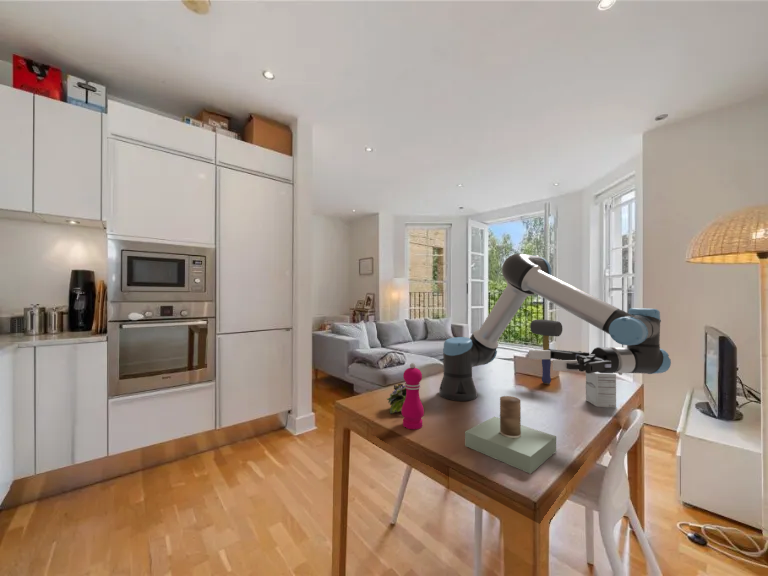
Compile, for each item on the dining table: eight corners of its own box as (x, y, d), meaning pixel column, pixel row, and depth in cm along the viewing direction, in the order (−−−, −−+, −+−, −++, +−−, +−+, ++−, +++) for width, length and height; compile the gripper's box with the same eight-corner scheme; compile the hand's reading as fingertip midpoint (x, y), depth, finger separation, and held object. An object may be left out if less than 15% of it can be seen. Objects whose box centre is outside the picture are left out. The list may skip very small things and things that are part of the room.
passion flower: (398, 421, 117) (406, 390, 124) (420, 424, 110) (428, 391, 116) (377, 410, 112) (387, 378, 118) (399, 412, 104) (409, 378, 110)
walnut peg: (496, 446, 86) (496, 398, 87) (505, 440, 90) (505, 394, 90) (515, 453, 82) (515, 404, 83) (524, 447, 86) (524, 399, 86)
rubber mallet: (564, 385, 144) (563, 320, 145) (555, 388, 140) (555, 321, 141) (538, 379, 155) (537, 318, 155) (529, 381, 151) (529, 319, 151)
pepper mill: (417, 432, 96) (417, 366, 96) (397, 426, 100) (397, 363, 100) (427, 423, 102) (427, 362, 103) (407, 419, 106) (407, 359, 106)
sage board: (465, 445, 88) (465, 431, 88) (494, 429, 98) (494, 416, 98) (530, 473, 74) (530, 456, 74) (556, 451, 85) (556, 436, 85)
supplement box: (585, 400, 125) (584, 368, 125) (604, 401, 124) (604, 369, 124) (596, 407, 118) (595, 373, 118) (617, 407, 117) (616, 373, 117)
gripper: (646, 385, 81) (565, 385, 81) (583, 362, 106) (521, 362, 106) (647, 356, 81) (566, 356, 81) (583, 340, 106) (521, 339, 106)
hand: (540, 359), depth 93 cm, fingers open, 13 cm apart
